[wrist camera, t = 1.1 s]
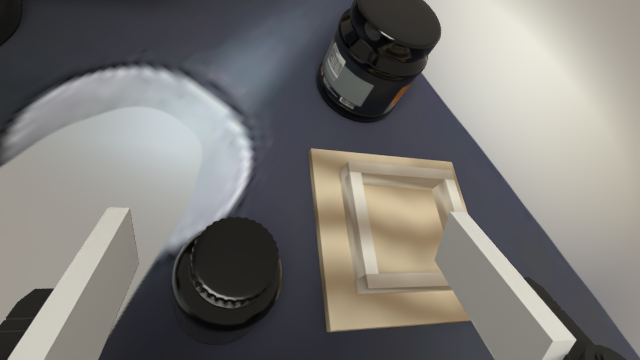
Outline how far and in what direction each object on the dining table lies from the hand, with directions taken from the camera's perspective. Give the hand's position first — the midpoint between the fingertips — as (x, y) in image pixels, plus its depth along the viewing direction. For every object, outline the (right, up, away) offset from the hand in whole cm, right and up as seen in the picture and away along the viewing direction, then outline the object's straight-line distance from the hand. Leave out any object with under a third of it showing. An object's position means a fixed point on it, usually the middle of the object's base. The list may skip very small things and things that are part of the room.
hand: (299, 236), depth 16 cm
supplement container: (+5, +13, +32) cm, 35 cm away
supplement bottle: (-7, -7, +15) cm, 18 cm away
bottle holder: (+9, -3, +23) cm, 25 cm away
